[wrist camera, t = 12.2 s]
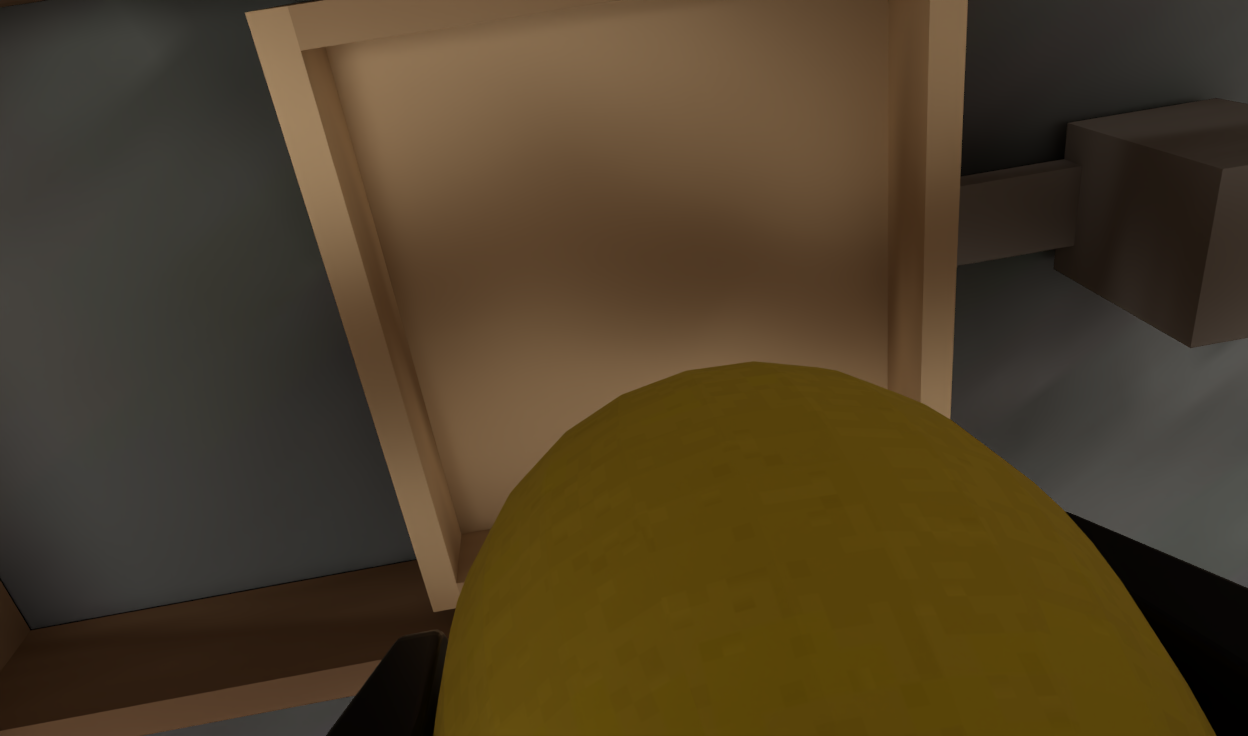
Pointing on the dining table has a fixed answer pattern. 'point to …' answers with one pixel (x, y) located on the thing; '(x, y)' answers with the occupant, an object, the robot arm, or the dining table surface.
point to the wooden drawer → (690, 212)
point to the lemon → (794, 581)
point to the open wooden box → (207, 653)
